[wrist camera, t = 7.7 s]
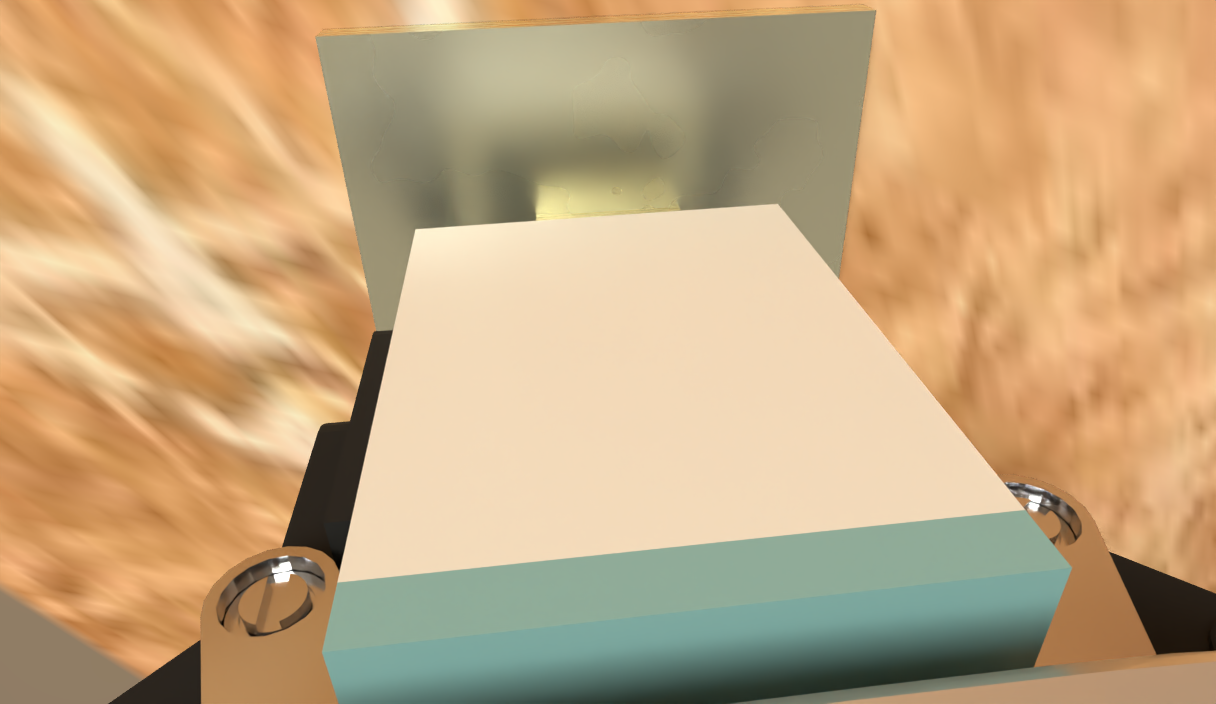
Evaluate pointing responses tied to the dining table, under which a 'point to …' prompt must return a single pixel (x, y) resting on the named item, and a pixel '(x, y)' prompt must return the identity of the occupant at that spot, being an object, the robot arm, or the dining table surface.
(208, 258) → the dining table surface
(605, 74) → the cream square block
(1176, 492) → the dining table surface
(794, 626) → the cream and teal block
